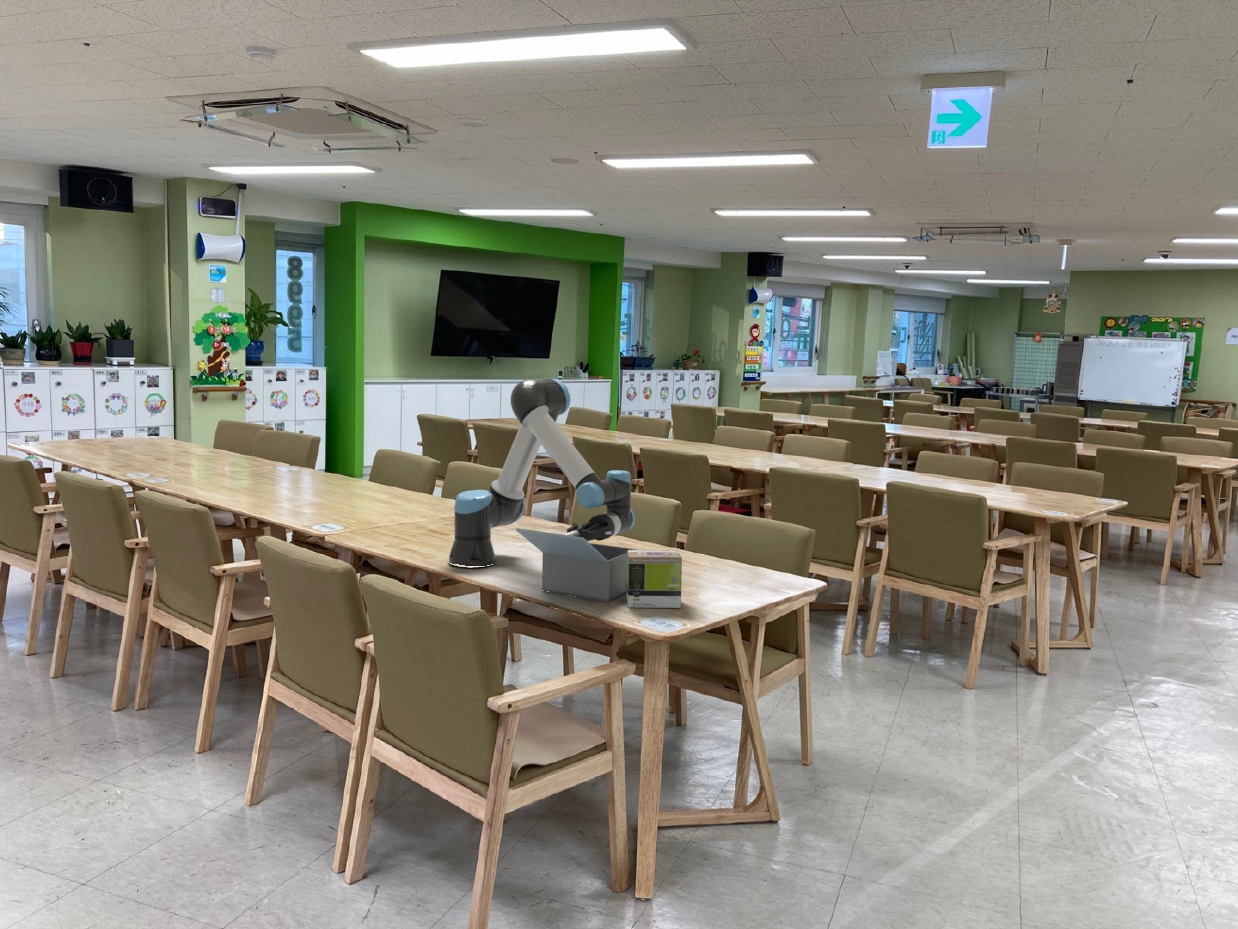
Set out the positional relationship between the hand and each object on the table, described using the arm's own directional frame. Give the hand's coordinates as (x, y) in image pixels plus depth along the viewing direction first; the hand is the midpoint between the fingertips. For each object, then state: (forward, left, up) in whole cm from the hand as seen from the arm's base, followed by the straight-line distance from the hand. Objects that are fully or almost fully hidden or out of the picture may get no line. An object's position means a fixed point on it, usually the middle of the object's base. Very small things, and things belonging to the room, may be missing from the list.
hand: (564, 539), depth 264 cm
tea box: (+22, +13, -18) cm, 31 cm away
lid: (0, 0, -1) cm, 2 cm away
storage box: (0, +16, -18) cm, 24 cm away
